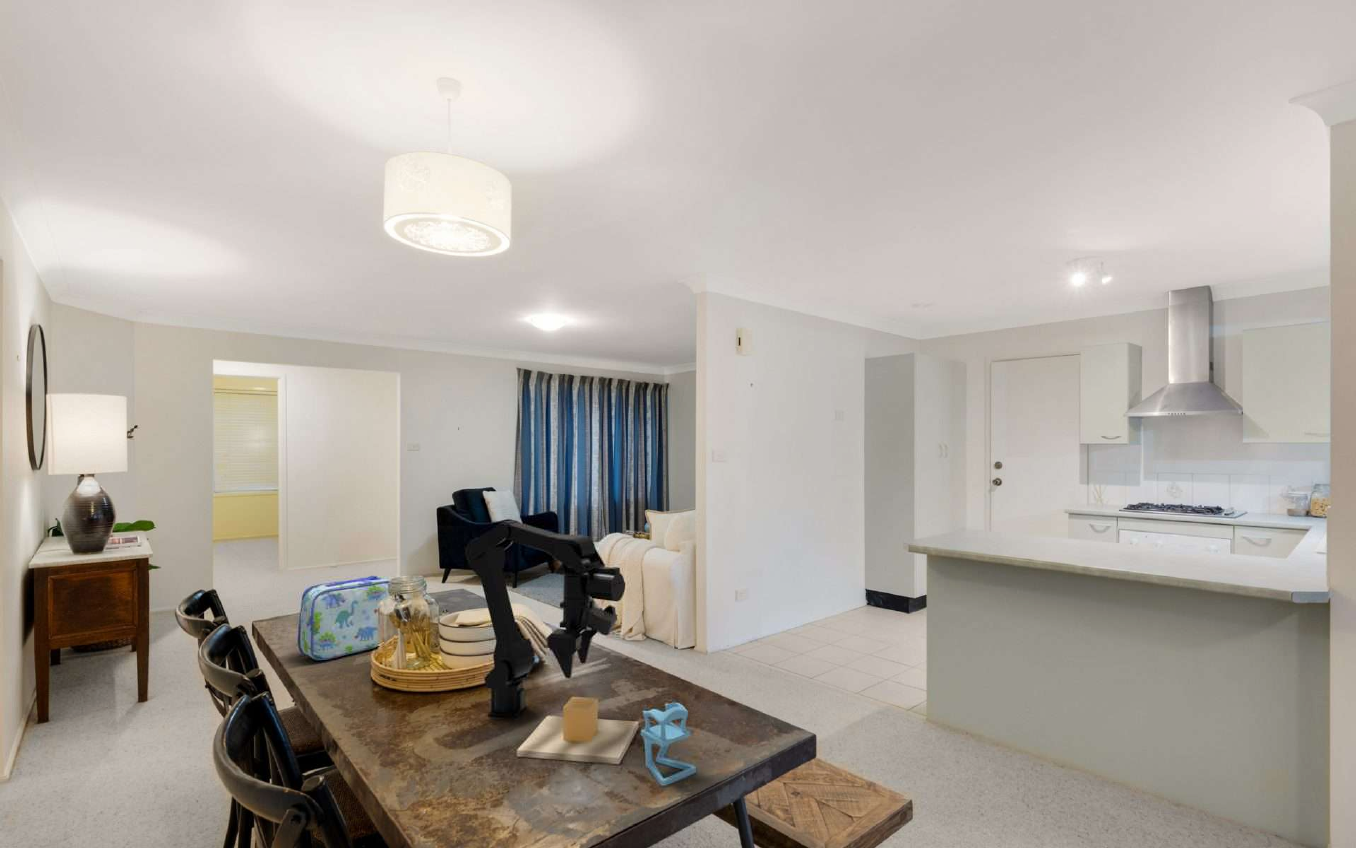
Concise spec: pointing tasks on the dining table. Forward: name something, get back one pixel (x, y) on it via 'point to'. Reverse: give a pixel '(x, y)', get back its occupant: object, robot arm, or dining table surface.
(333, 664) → the dining table surface
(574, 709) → the block
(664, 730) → the chair
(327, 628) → the lunch box
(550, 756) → the board
